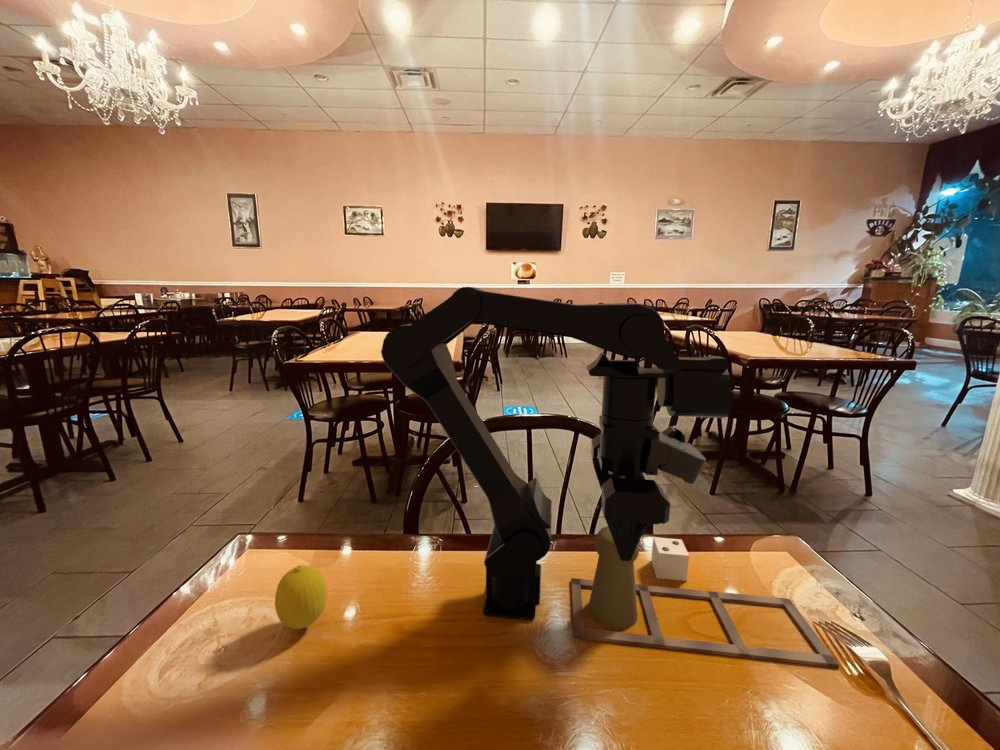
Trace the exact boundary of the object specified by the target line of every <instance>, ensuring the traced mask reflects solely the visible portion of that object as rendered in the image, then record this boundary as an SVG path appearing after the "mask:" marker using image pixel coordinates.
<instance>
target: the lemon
mask: <svg viewBox="0 0 1000 750" xmlns="http://www.w3.org/2000/svg"><path fill="white" fill-rule="evenodd" d="M327 589H328V588H327V584H326V581H325V578H324V576H323V574H322V573H321V571H320V570H318V568H316V567H314V566H311V565H308V564H306V565H304V564H303V565H297V566H295V567H292V568H291V569H290V570H288V571H286V573H285V574H284V575H283V576H282V577H281V579H280V580H279V582H278V584H277V587H276V592H275V598H274V607H275V611H276V616H277V618H278V619H279V621H280V623H282V625H284V626H286V627H287V628H290V629H293V630H300V629H305V628H307V627H309V626H312V625H313V624H314V623H315V622H316V621H318V619H319V618H320V617H321V615H322V614H323V612H324V610H325V608H326V605H327V599H328V590H327Z"/></svg>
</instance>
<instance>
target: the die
mask: <svg viewBox="0 0 1000 750" xmlns="http://www.w3.org/2000/svg"><path fill="white" fill-rule="evenodd" d="M652 538H653V539H652V549H651V550H652V551H651V560H650V561H651V563H652V567H653V570H654V573H655V576H656V578H657V579H664V580H665V579H666V580H675V581H684V582H687V581H688V571H689V570H688V569H689V563H690V562H689V561H690V555H689V552H688V550H687V548H686V546H685V544H684V541H683V540H682V538H681V539H679V538H667V537H656V536H653V537H652Z"/></svg>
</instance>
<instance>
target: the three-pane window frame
mask: <svg viewBox="0 0 1000 750" xmlns="http://www.w3.org/2000/svg"><path fill="white" fill-rule="evenodd" d="M570 580H571V583H570V584H571V602H572V603H571V605H572V607H571V608H572V624H573V625H572V626H573V628H572V629H573V638H574V639H579V640H587V641H588V640H589V641H597V642H604V643H605V642H606V643H607V642H608V643H616V644H622V645H623V644H625V645H631V646H632V645H633V646H641V647H642V646H643V647H650V648H651V647H652V648H659V649H670V650H675V651H676V650H677V651H685V652H695V653H703V654H713V655H719V656H720V655H721V656H731V657H739V658H748V659H756V660H758V659H759V660H766V661H774V662H785V663H791V664H792V663H793V664H801V665H808V666H809V665H811V666H818V667H819V666H820V667H828V668H836V669H837V668H838V669H839V668H840V664H839V662H838V661H837V659H836V658H835V657H834V656H833V654H832V653H831V652H830V650H829V649H828V648H827V647H826V645H825V644H824V642H823V641H822V640H821V638H820V637H819V636H818V634H817V633H816V632H815V630H814V629H813V628H812V627H811V625H810V623H808V621H807V620H806V618H805V617H804V616H803V615H802V614H801V612H800V611H799V609H798V608H797V607H796V606H795V604H794V603H793V602H792V600H791V598H788V597H787V598H786V597H777V596H763V595H755V594H743V593H731V592H723V591H711V590H702V589H701V590H700V589H690V588H680V587H678V588H677V587H671V586H670V587H668V586H659V585H647V584H638V583H637V584H636V583H635V588H636V594H639V596H640V600H641V605H642V607H643V610H644V615H645V619H646V623H647V626H648V630H649V632H650V633H649V635H648V634H639V633H632V632H631V633H629V632H621V631H612V630H604V629H594V628H586V627H585V625H584V613H583V611H584V610H583V601H582V599H583V598H582V588H585V589H592V587H593V582H594V579H585V578H575V577H572V578H571V579H570ZM651 595H656V596H666V597H677V598H687V599H697V600H699V599H700V600H707V601H708V600H709V601H710V602H711V604H712V606H713V609H714V610H715V613H716V615H717V617H718V619H719V621H720V623H721V624H722V627H723V628H724V629H723V630H725V633H726V635H727V637H728V639H729V640H730V642H731V644H730V643H723V642H722V643H720V642H715V641H714V642H713V641H702V640H695V639H694V640H693V639H685V638H684V639H683V638H676V637H667V636H663V633H662V630H661V626H660V623H659V619H658V617H657V613H656V610H655V607H654V603H653V600H652V597H651ZM723 602H729V603H736V604H737V603H740V604H741V603H742V604H749V605H759V606H769V607H779V608H783V609H784V610H785V611H786V612H787V614H788V615H789V617H790V618H791V619H792V620H793V622H794V624H796V627H797V628H798V629H799V630H800V632H801V633H802V634H803V636H804V637H805V639H806V640H807V641H808V643H809V644H810V646H811V647H812V648H813V650H814V651H815V652H816V653H815V652H804V651H803V652H802V651H794V650H786V649H776V648H768V647H759V646H757V647H756V646H751V645H749V646H748V645H746V644H745V642H744V640H743V638H742V637H741V635H740V633H739V631H738V629H737V628H736V626H735V623H734V622H733V620H732V618H731V616H730V614H729V612H728V610H727V609H726V607H725V605H724V603H723Z"/></svg>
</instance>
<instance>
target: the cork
mask: <svg viewBox="0 0 1000 750" xmlns="http://www.w3.org/2000/svg"><path fill="white" fill-rule="evenodd" d="M594 545H595V550H596V553H597V554H598V560H597V564H596V569H595V573H594V577H593V580H594V582H593V587H592V588H591V592H590V596H589V601H588V605H587V606H588V607H587V609H588V613H589V614H590V616H591V617H592V619H593V620H594V621H596V623H598V624H599V625H601V626H602V627H605V628H609V629H613V630H625V629H630V628H631V627H633V626H634V625H635V624H636V622H637V621H638V607H637V606H638V604H637V593H636V588H635V584H636V577H635V564H634V563H635V561H636V560H637V558H638V556H639V552H640V542H639V543H638V545H637V547H636V550H635V552H634V554H633V557H632V559H631V561H622V560H621V559H620V557H619V554H618V551H617V549H616V546H615V543H614V540H613V538H612V535H611V533H610V530H609V527H608V525H607V526H605V527H602V528H600V529H599V531H597V534H596V538H595V544H594Z"/></svg>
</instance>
